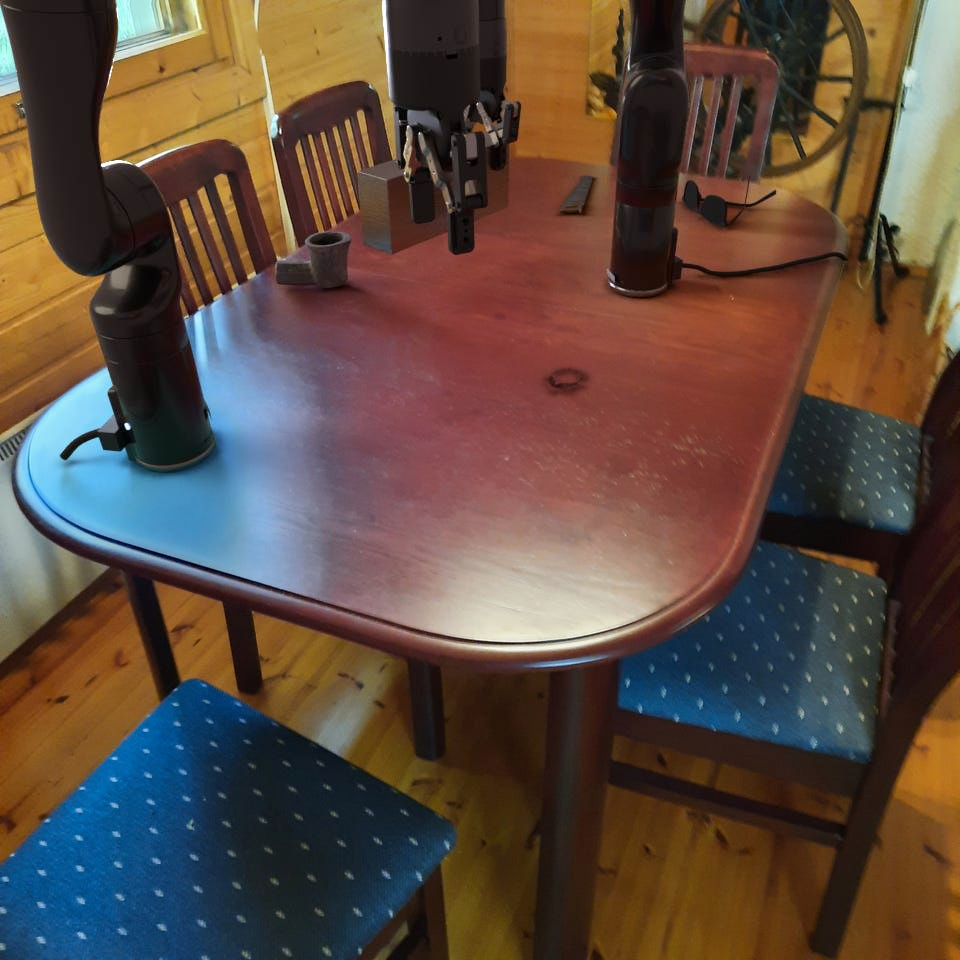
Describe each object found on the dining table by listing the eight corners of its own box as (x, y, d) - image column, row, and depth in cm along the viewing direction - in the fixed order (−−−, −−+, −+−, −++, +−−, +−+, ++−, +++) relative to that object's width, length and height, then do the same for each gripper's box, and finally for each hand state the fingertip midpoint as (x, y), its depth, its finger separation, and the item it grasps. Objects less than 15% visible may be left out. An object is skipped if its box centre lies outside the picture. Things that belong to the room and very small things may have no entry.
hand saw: (572, 176, 184) (572, 173, 184) (593, 177, 184) (593, 174, 183) (557, 214, 165) (557, 210, 165) (581, 215, 165) (581, 211, 164)
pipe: (280, 280, 143) (272, 233, 138) (357, 276, 144) (351, 229, 139) (276, 295, 138) (268, 248, 133) (355, 291, 139) (350, 243, 134)
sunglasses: (787, 221, 160) (792, 194, 157) (718, 230, 157) (722, 203, 154) (740, 193, 173) (744, 168, 170) (675, 201, 170) (678, 176, 167)
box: (480, 199, 145) (480, 132, 138) (508, 207, 142) (509, 139, 135) (363, 244, 129) (356, 171, 122) (392, 254, 125) (387, 180, 119)
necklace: (540, 387, 113) (540, 381, 112) (560, 367, 117) (560, 360, 117) (569, 395, 111) (569, 388, 111) (588, 373, 116) (588, 367, 115)
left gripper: (357, 30, 72) (375, 219, 81) (423, 58, 61) (435, 272, 71) (439, 21, 74) (447, 206, 84) (515, 47, 64) (515, 255, 74)
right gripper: (535, 52, 126) (532, 168, 136) (462, 41, 134) (464, 152, 144) (502, 61, 121) (501, 180, 131) (429, 49, 129) (433, 162, 139)
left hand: (442, 236), depth 78 cm, fingers open, 8 cm apart
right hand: (482, 165), depth 137 cm, fingers closed on box, 6 cm apart
